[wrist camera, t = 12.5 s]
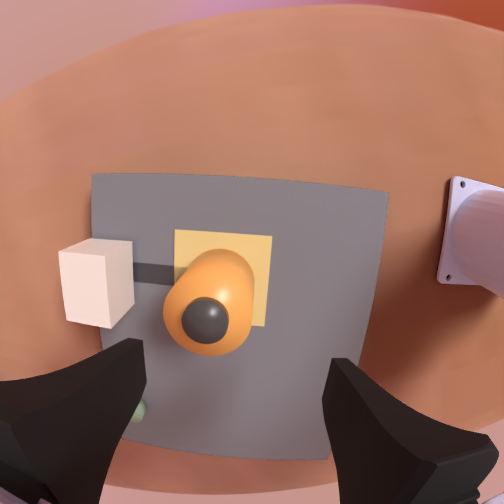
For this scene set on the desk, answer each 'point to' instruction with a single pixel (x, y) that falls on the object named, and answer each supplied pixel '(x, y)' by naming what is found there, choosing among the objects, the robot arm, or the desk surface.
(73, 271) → the lever
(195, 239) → the panel
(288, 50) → the desk surface
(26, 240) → the desk surface
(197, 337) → the cap
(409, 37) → the desk surface
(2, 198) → the desk surface
